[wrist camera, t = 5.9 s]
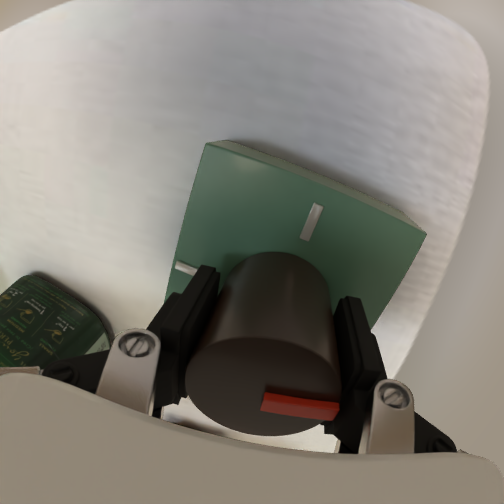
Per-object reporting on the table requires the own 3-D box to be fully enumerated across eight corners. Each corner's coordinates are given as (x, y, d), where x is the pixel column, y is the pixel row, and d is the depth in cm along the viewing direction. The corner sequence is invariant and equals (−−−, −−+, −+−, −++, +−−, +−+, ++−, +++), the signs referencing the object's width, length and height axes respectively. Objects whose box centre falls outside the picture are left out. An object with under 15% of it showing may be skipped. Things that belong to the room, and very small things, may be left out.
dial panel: (224, 139, 13) (204, 142, 10) (403, 212, 13) (429, 235, 10) (175, 311, 17) (154, 345, 14) (317, 362, 17) (318, 401, 14)
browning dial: (217, 330, 13) (180, 425, 8) (229, 240, 11) (181, 325, 6) (312, 350, 13) (313, 451, 8) (343, 264, 11) (370, 362, 6)
